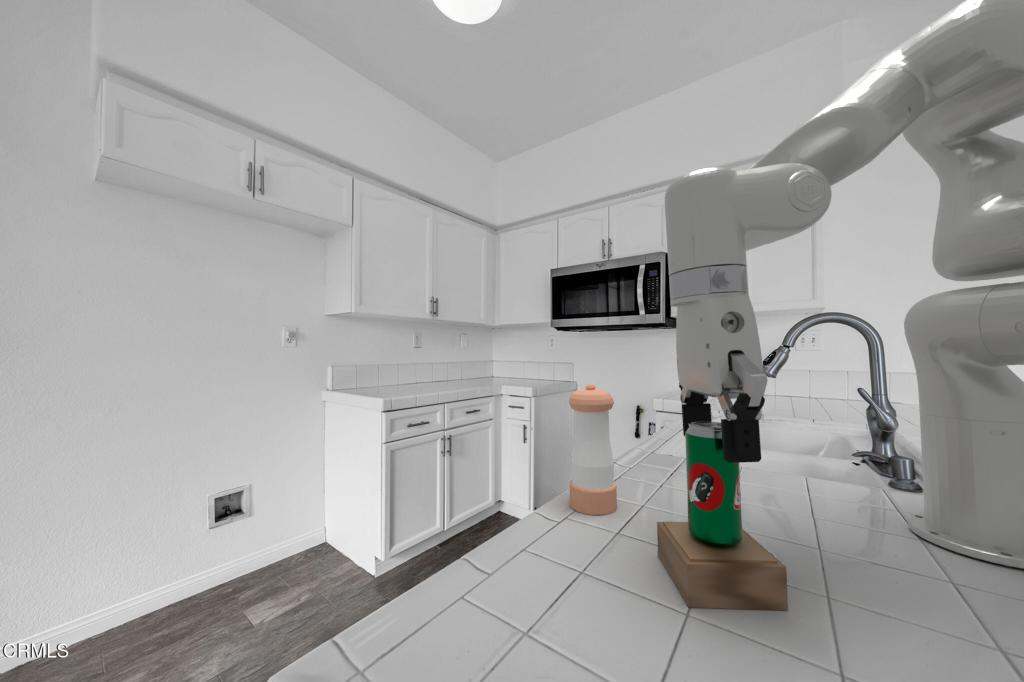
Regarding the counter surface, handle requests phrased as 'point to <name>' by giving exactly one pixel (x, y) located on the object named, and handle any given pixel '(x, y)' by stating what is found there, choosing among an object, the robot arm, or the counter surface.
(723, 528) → the soda can
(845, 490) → the counter surface
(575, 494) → the pepper shaker
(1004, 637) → the counter surface
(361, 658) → the counter surface
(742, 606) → the walnut base
